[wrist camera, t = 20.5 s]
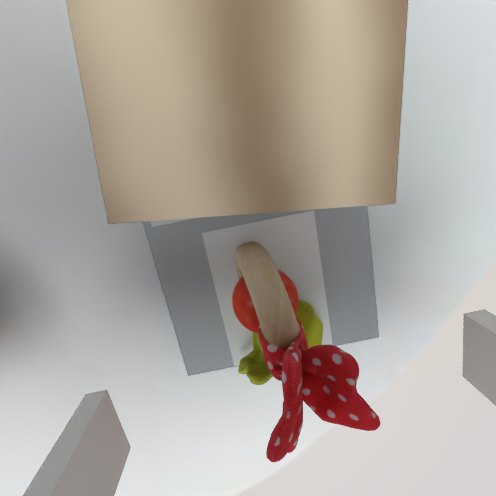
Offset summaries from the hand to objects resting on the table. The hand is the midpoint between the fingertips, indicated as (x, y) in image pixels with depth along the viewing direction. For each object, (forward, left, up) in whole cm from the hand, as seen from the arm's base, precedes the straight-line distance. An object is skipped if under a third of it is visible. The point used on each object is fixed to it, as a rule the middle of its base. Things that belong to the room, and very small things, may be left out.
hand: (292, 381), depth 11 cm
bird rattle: (+1, 0, -9) cm, 9 cm away
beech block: (-10, 0, -9) cm, 13 cm away
